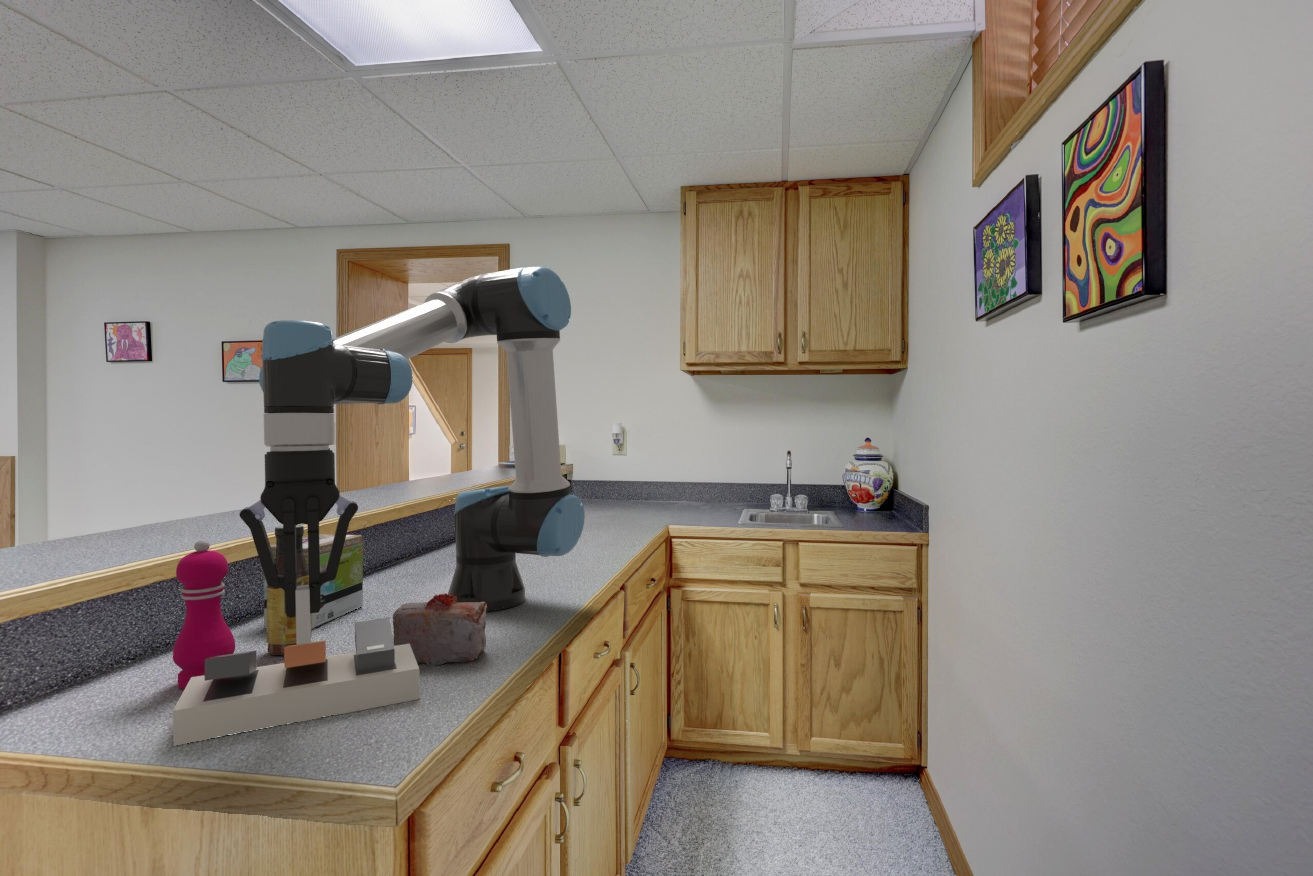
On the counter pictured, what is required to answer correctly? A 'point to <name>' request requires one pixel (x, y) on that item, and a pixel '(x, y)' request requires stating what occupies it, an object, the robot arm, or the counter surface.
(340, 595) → the tea box
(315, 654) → the rocker middle
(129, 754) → the counter surface
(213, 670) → the block
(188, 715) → the rocker switch panel
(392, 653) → the rocker end
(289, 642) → the sauce bottle
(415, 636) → the food item
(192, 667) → the pepper mill
